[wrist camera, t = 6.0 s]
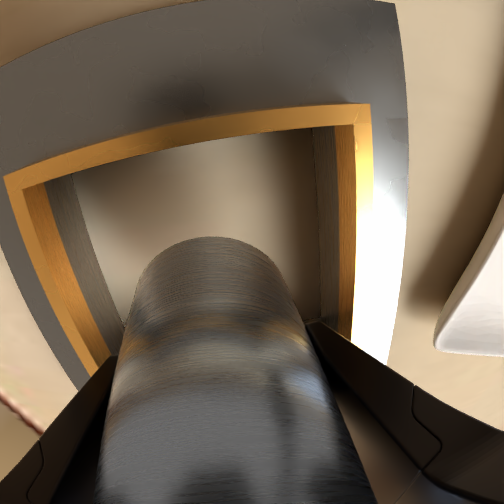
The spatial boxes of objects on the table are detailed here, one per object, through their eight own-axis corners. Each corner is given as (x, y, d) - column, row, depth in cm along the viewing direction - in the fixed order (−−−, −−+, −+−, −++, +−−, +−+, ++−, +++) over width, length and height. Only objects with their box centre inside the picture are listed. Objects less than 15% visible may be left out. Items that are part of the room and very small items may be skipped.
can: (281, 222, 9) (441, 516, 2) (291, 347, 11) (365, 562, 4) (114, 253, 9) (20, 549, 2) (160, 369, 11) (157, 589, 4)
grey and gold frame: (364, 15, 10) (418, -5, 7) (364, 360, 19) (390, 407, 15) (-4, 87, 9) (-61, 92, 5) (116, 404, 18) (109, 455, 14)
